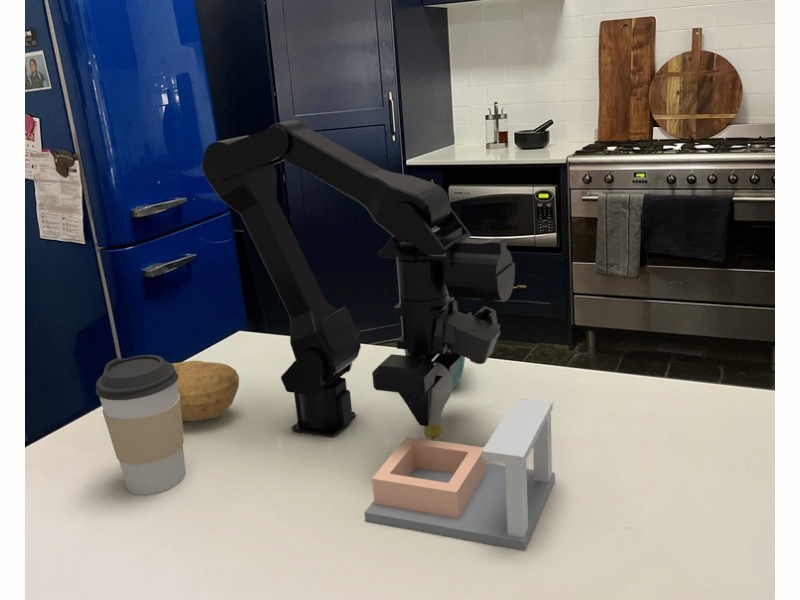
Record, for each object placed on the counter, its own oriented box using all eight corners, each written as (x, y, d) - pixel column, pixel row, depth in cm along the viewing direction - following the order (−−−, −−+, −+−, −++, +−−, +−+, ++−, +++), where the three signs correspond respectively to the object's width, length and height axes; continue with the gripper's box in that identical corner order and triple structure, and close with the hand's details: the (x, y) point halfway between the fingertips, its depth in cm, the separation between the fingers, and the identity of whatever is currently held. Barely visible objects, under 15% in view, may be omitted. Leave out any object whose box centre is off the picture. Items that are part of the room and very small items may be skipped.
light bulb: (452, 449, 92) (448, 372, 89) (407, 448, 93) (401, 371, 90) (458, 428, 97) (454, 354, 94) (415, 427, 98) (410, 354, 95)
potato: (167, 401, 113) (157, 350, 111) (255, 404, 110) (247, 352, 108) (130, 432, 104) (119, 378, 102) (225, 436, 101) (216, 381, 99)
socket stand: (365, 520, 80) (356, 436, 77) (412, 459, 92) (406, 384, 89) (525, 550, 74) (522, 459, 71) (555, 480, 85) (553, 399, 82)
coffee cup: (209, 463, 94) (190, 350, 90) (165, 504, 86) (142, 381, 82) (148, 456, 97) (126, 346, 93) (100, 495, 89) (73, 376, 85)
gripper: (463, 326, 78) (470, 462, 83) (513, 274, 94) (516, 391, 99) (364, 318, 82) (377, 449, 87) (428, 270, 98) (435, 382, 103)
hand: (432, 415), depth 94 cm, fingers closed on light bulb, 5 cm apart
